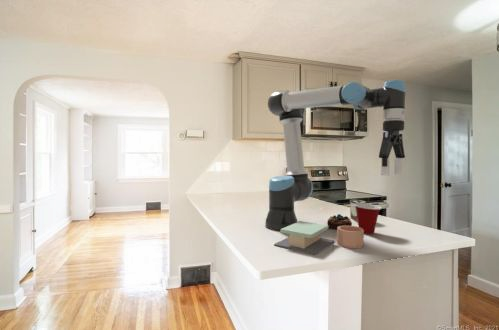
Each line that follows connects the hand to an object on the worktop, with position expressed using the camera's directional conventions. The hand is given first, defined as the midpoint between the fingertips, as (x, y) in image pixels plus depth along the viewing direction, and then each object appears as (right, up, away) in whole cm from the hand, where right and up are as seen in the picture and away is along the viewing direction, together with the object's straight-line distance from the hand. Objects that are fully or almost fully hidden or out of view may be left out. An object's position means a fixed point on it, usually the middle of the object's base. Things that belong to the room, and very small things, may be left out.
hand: (391, 174), depth 110 cm
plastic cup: (-6, -26, +10) cm, 28 cm away
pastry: (-14, -26, +20) cm, 35 cm away
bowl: (-19, -26, -7) cm, 33 cm away
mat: (-36, -26, -5) cm, 44 cm away
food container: (0, -25, +33) cm, 41 cm away
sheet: (-36, -21, -6) cm, 42 cm away
